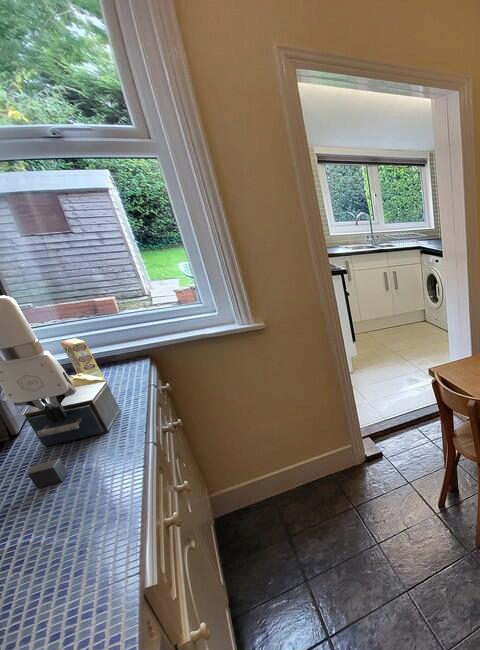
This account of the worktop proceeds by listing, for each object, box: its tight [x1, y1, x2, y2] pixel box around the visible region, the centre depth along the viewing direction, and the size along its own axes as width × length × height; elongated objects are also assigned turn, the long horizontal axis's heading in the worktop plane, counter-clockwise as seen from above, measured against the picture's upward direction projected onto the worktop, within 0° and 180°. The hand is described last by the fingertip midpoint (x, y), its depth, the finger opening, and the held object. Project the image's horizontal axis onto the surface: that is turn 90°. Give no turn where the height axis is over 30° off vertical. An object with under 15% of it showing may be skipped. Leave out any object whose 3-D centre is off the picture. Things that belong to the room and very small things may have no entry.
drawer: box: [26, 403, 104, 447], centre depth 107 cm, size 18×11×8 cm, turn 32°
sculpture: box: [68, 373, 107, 388], centre depth 122 cm, size 11×12×11 cm
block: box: [27, 458, 69, 490], centre depth 90 cm, size 4×4×4 cm
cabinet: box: [23, 381, 121, 448], centre depth 111 cm, size 15×13×10 cm
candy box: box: [60, 338, 106, 381], centre depth 139 cm, size 9×4×15 cm, turn 61°
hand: (60, 420), depth 102 cm, fingers closed
